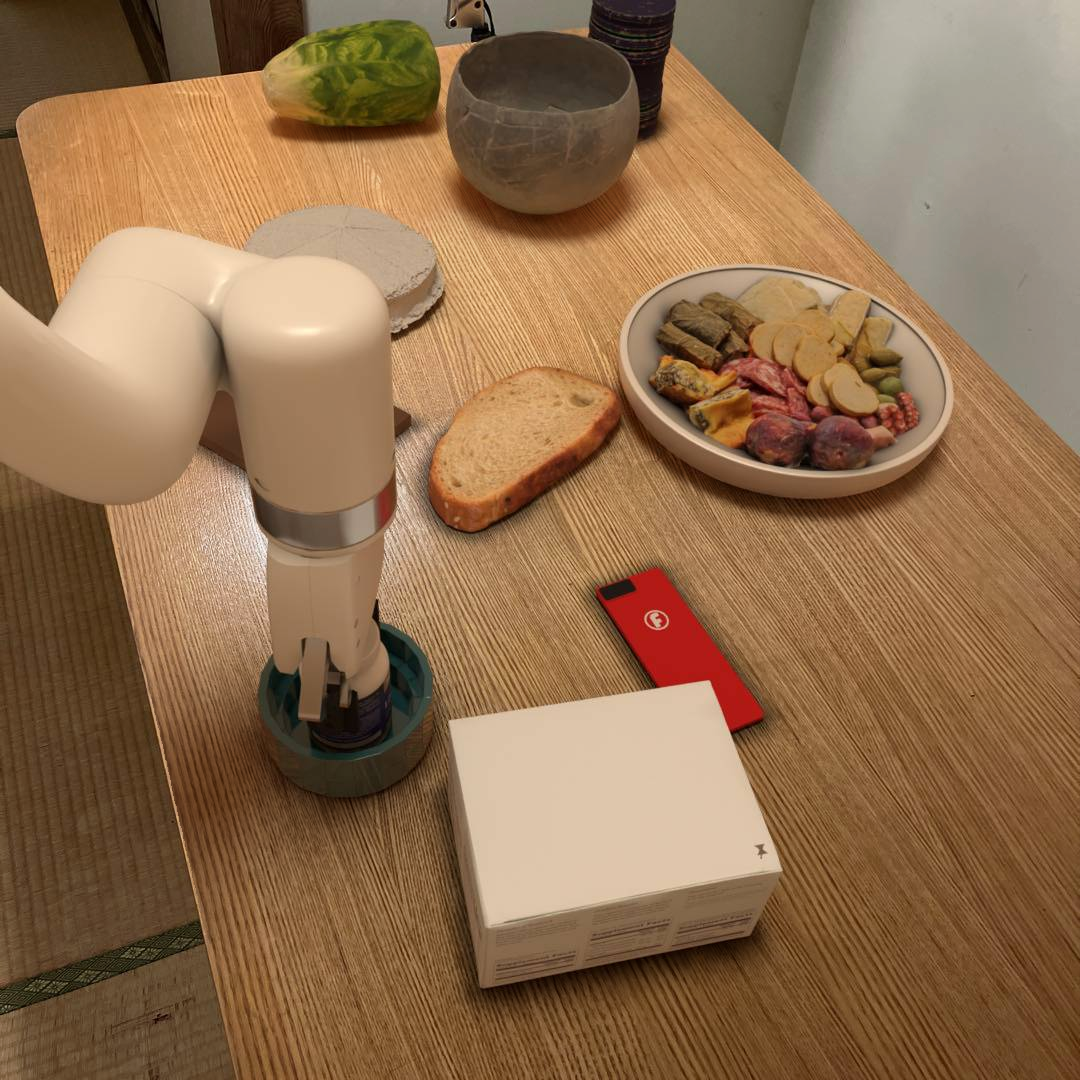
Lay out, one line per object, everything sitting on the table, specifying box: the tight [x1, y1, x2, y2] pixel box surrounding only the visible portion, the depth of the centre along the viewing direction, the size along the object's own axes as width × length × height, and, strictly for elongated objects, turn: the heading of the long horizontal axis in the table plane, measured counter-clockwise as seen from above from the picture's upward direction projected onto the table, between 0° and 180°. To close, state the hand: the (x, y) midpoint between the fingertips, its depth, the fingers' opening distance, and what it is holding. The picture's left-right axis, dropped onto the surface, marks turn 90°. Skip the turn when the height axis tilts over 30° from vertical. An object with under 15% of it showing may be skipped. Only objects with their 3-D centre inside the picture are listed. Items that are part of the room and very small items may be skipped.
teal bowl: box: [256, 621, 434, 798], centre depth 72 cm, size 11×11×5 cm
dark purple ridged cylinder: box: [587, 0, 677, 143], centre depth 127 cm, size 10×10×18 cm
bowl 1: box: [445, 30, 640, 216], centre depth 116 cm, size 20×20×15 cm
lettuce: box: [261, 19, 442, 128], centre depth 125 cm, size 12×21×11 cm, turn 111°
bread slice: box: [427, 365, 623, 533], centre depth 92 cm, size 18×18×4 cm
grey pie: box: [242, 202, 446, 334], centre depth 105 cm, size 20×20×7 cm
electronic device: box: [595, 567, 765, 734], centre depth 79 cm, size 6×1×15 cm
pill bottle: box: [299, 619, 392, 753], centre depth 70 cm, size 6×6×10 cm
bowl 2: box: [617, 263, 955, 500], centre depth 97 cm, size 30×30×8 cm
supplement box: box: [447, 680, 784, 989], centre depth 65 cm, size 17×13×9 cm
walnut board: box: [198, 390, 412, 472], centre depth 93 cm, size 16×13×1 cm
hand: (345, 679), depth 70 cm, fingers open, 6 cm apart
